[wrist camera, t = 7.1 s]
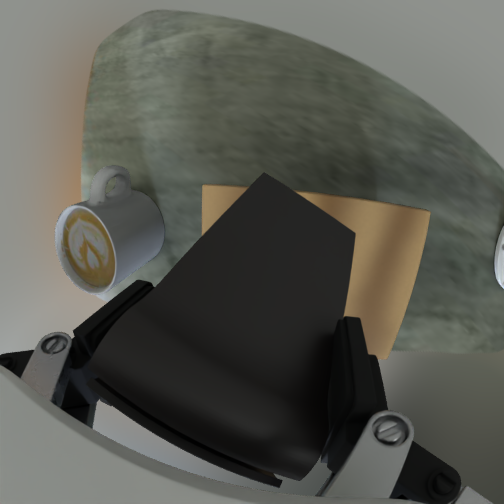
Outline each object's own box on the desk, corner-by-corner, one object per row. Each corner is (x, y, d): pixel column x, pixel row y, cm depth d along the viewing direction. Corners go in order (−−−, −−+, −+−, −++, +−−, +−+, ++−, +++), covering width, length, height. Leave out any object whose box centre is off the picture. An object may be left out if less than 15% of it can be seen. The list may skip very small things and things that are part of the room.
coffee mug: (153, 275, 35) (110, 311, 26) (100, 242, 35) (52, 267, 26) (184, 182, 30) (135, 194, 21) (122, 154, 30) (65, 159, 21)
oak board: (426, 209, 20) (431, 211, 19) (385, 354, 26) (387, 359, 25) (206, 183, 24) (202, 184, 23) (207, 333, 29) (204, 338, 28)
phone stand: (265, 171, 14) (122, 215, 3) (355, 231, 14) (434, 406, 3) (195, 290, 18) (81, 426, 7) (270, 337, 18) (219, 503, 7)
